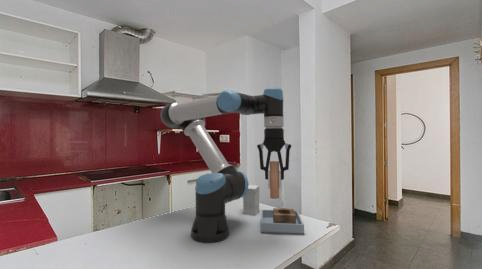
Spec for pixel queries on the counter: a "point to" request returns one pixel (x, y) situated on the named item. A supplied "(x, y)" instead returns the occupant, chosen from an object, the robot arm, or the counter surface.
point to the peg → (274, 179)
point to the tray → (280, 224)
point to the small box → (251, 200)
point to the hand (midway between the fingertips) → (274, 187)
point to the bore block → (284, 215)
